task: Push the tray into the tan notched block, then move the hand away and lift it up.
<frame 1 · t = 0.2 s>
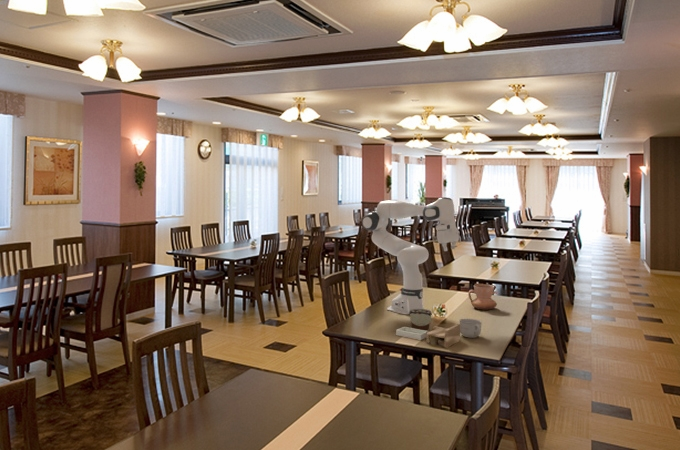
hand: (449, 250, 290), 39 cm above the table, tool pointing down, fingers open, 8 cm apart
ceramic jug: (482, 308, 316), on the table
food container: (421, 329, 270), on the table
tray: (412, 336, 257), on the table
teacup: (471, 337, 255), on the table
tan notched block: (439, 341, 248), on the table
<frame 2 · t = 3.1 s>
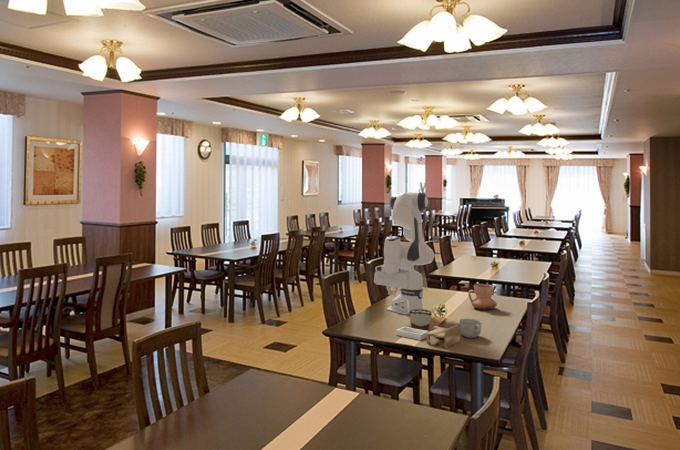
hand: (392, 294, 263), 19 cm above the table, tool pointing down, fingers closed
nothing on the table moved.
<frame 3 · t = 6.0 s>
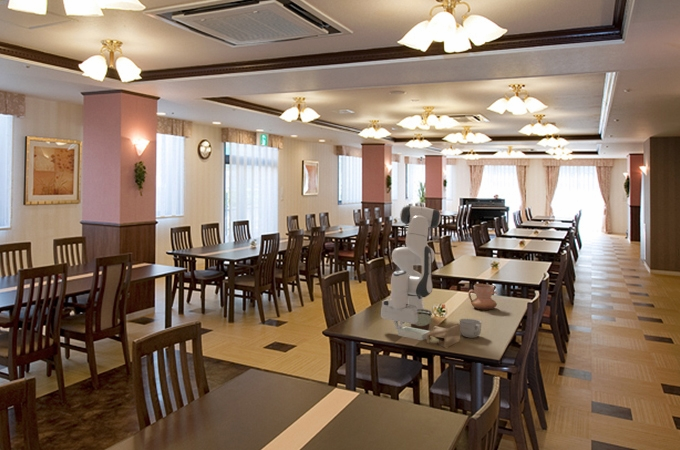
hand: (398, 329, 261), 2 cm above the table, tool pointing down, fingers closed
tray: (413, 336, 257), on the table, touching gripper
everything else where it was.
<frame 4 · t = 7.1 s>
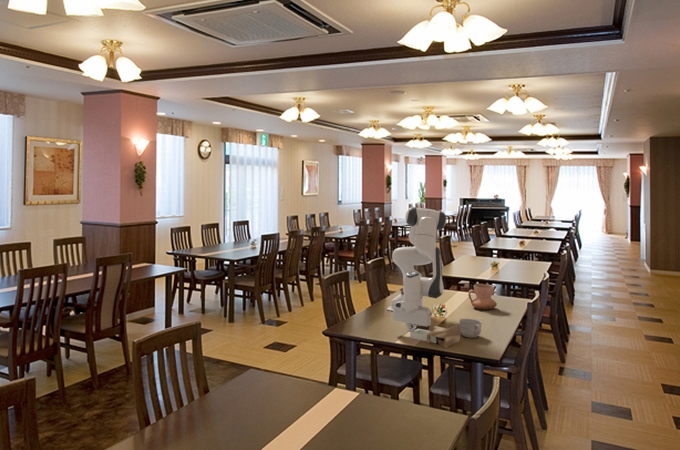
hand: (411, 332, 257), 2 cm above the table, tool pointing down, fingers closed
tray: (426, 338, 252), on the table, touching gripper
everything else where it was.
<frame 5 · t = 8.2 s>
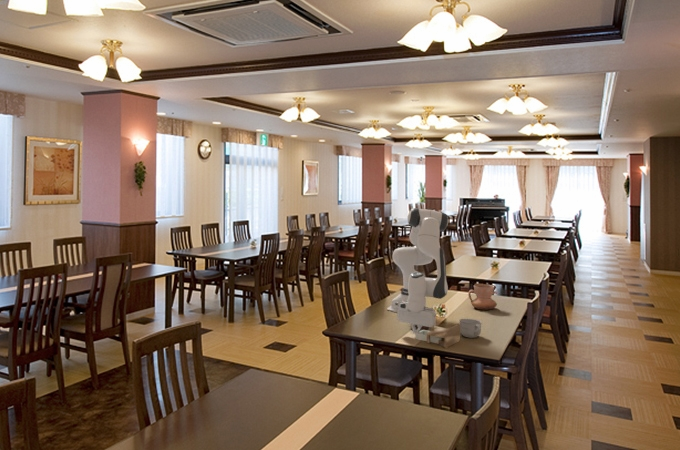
hand: (416, 333, 255), 2 cm above the table, tool pointing down, fingers closed
tray: (431, 340, 251), on the table, touching gripper
everything else where it was.
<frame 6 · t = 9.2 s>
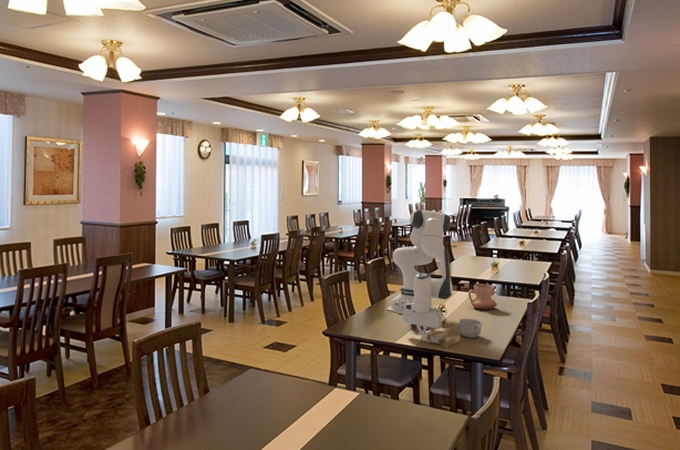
hand: (422, 334, 254), 2 cm above the table, tool pointing down, fingers closed
tray: (437, 340, 249), on the table, touching tan notched block, gripper
everything else where it was.
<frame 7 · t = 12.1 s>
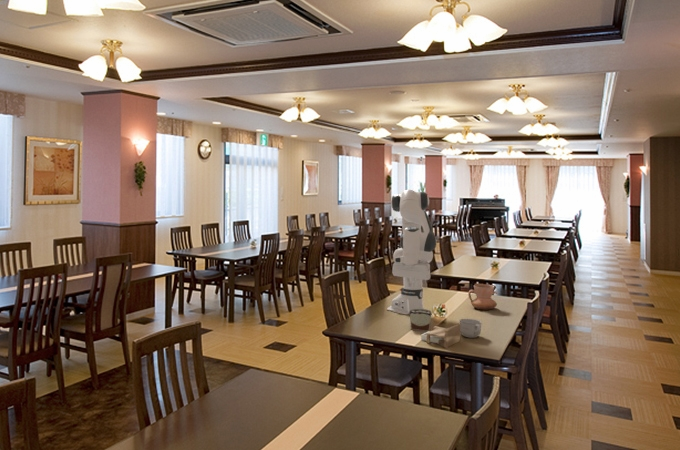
hand: (410, 286, 258), 24 cm above the table, tool pointing down, fingers closed
tray: (437, 341, 249), on the table
everything else where it was.
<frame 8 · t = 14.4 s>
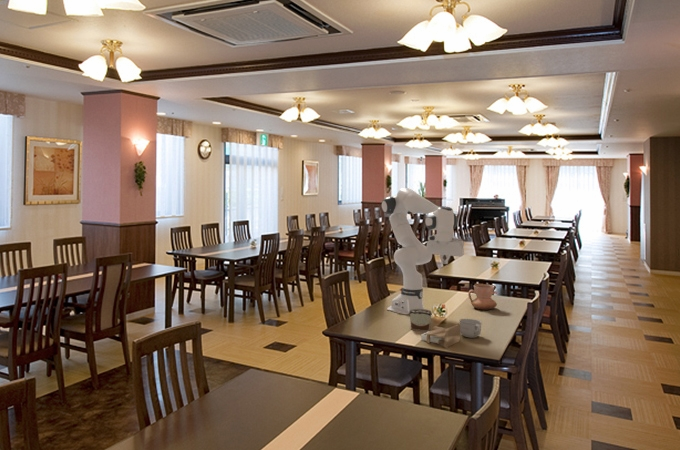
hand: (444, 263, 270), 34 cm above the table, tool pointing down, fingers closed
nothing on the table moved.
at the end: tray 0.5 cm from the target spot, on the table; tray tilted 0°; tray touching table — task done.
